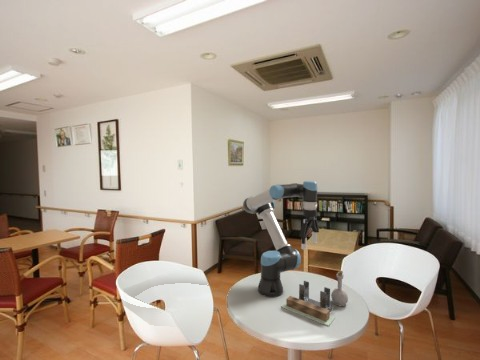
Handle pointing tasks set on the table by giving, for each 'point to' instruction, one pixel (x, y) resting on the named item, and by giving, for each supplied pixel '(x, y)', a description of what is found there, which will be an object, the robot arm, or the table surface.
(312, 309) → the rail
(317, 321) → the mat
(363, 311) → the table surface
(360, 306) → the table surface
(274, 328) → the table surface
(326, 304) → the rack
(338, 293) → the potion bottle
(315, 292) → the table surface
